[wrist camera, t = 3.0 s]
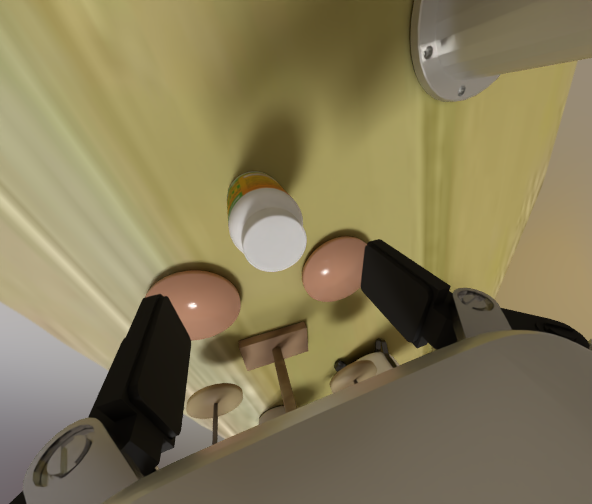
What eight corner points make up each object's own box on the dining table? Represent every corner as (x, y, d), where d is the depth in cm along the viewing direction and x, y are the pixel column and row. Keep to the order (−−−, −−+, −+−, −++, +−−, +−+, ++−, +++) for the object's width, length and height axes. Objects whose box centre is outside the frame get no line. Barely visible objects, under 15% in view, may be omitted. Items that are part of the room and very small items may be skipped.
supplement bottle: (226, 166, 18) (230, 198, 10) (285, 174, 20) (326, 206, 12) (226, 223, 21) (229, 283, 13) (278, 225, 23) (308, 279, 15)
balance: (346, 307, 34) (434, 437, 20) (343, 333, 37) (417, 459, 23) (185, 355, 28) (149, 577, 15) (200, 380, 32) (183, 577, 18)
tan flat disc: (127, 280, 21) (122, 288, 20) (228, 258, 23) (229, 264, 22) (167, 340, 26) (165, 350, 25) (247, 318, 28) (247, 326, 27)
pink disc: (297, 243, 25) (301, 248, 24) (372, 227, 27) (378, 231, 26) (302, 303, 30) (305, 309, 29) (364, 285, 32) (368, 291, 31)
